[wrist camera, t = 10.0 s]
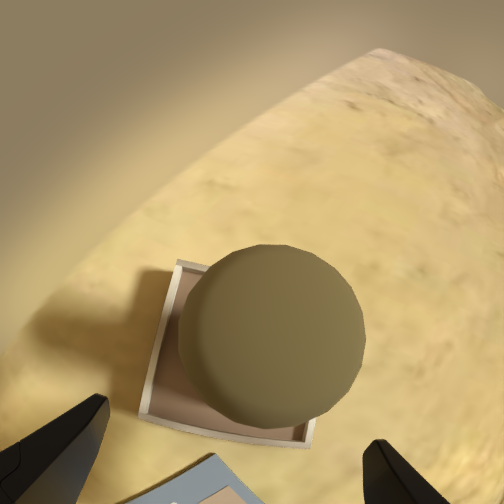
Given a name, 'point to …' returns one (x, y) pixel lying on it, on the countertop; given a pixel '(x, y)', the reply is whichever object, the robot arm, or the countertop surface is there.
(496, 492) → the countertop surface
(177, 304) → the brown square tray
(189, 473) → the blueprint card
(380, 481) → the robot arm
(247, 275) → the olive pawn figure
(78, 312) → the countertop surface
